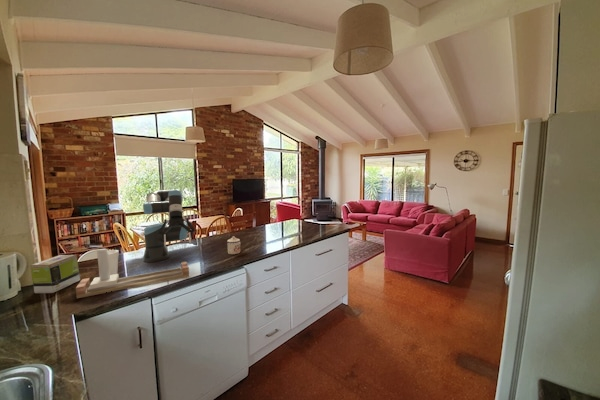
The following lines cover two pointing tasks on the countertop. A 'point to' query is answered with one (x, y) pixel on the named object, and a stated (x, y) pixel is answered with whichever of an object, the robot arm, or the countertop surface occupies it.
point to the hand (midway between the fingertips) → (178, 244)
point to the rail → (133, 281)
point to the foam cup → (113, 261)
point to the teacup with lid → (233, 245)
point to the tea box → (55, 273)
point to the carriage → (103, 271)
